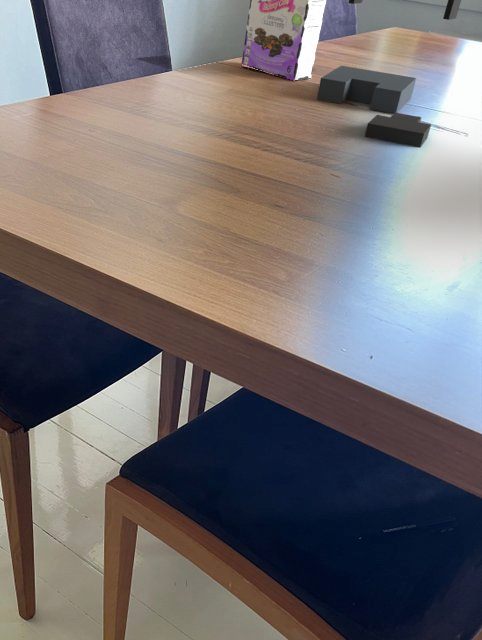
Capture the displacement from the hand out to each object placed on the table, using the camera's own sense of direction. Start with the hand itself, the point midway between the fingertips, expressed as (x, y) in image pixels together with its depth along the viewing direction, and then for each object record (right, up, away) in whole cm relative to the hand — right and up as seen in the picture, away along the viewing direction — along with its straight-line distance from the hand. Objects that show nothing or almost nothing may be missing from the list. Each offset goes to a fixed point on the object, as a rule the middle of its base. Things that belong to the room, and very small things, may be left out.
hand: (400, 10), depth 99 cm
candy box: (-9, +15, +46) cm, 49 cm away
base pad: (+5, +4, +33) cm, 33 cm away
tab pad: (+3, -14, +10) cm, 17 cm away
